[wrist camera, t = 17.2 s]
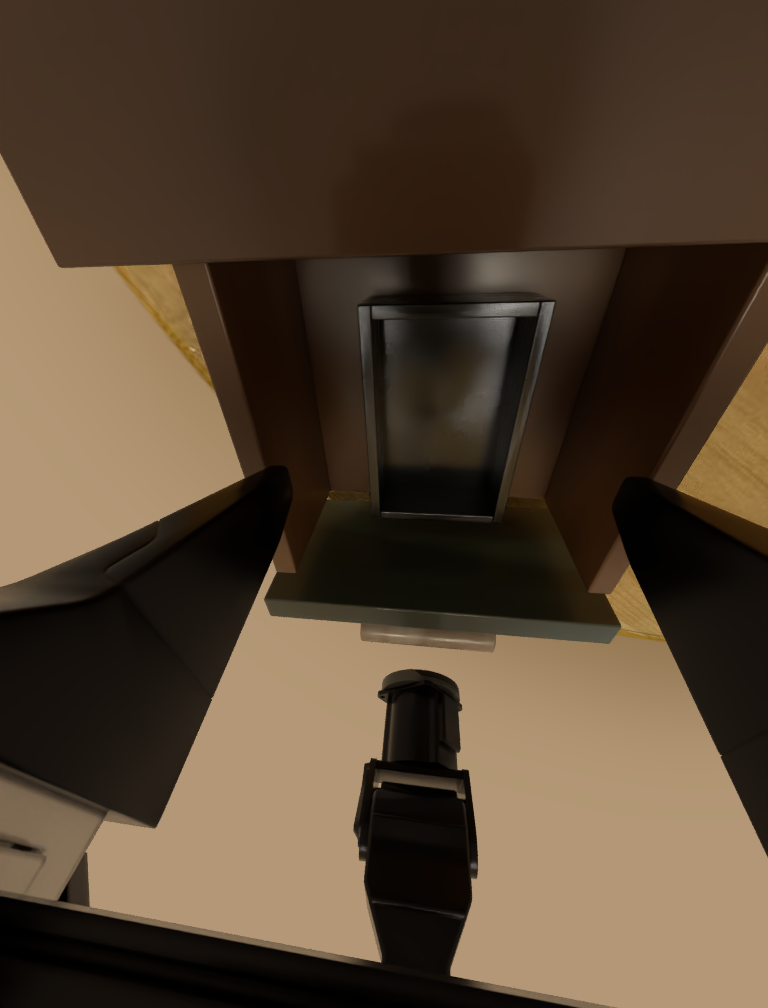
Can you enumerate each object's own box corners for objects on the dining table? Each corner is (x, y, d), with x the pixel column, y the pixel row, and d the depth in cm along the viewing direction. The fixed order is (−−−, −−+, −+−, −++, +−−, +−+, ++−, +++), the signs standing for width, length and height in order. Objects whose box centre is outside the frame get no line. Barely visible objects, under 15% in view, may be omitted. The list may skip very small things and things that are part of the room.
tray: (492, 490, 16) (501, 524, 14) (378, 486, 16) (371, 518, 14) (533, 291, 11) (556, 300, 9) (369, 295, 11) (356, 305, 9)
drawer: (533, 584, 21) (569, 701, 16) (326, 571, 22) (293, 673, 17) (728, 73, 9) (1259, -244, 3) (233, 115, 10) (-4, -51, 4)
